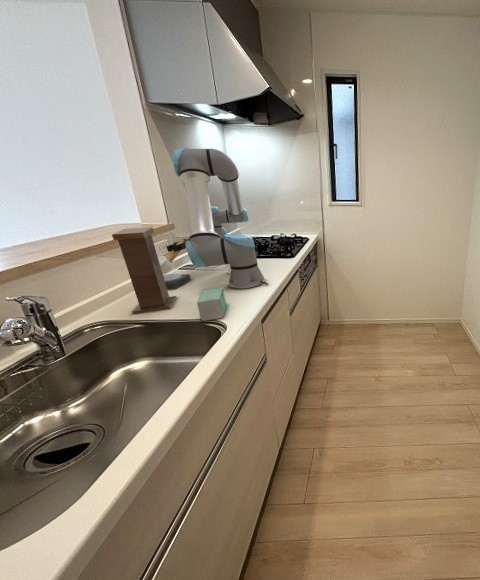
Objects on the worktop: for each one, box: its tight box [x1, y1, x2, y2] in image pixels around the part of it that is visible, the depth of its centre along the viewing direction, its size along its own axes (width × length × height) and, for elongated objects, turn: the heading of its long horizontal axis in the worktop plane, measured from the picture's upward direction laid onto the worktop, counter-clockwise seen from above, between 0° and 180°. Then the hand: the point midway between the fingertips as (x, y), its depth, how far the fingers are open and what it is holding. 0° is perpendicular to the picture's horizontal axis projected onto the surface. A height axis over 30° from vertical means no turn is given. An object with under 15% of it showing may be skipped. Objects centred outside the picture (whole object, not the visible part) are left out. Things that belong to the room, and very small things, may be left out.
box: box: [196, 287, 227, 322], centre depth 117 cm, size 7×14×8 cm, turn 22°
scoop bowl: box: [157, 239, 185, 275], centre depth 147 cm, size 21×7×5 cm
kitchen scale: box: [163, 273, 192, 290], centre depth 147 cm, size 13×13×4 cm
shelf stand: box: [111, 226, 178, 315], centre depth 119 cm, size 12×12×30 cm
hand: (170, 248), depth 148 cm, fingers closed on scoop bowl, 2 cm apart
